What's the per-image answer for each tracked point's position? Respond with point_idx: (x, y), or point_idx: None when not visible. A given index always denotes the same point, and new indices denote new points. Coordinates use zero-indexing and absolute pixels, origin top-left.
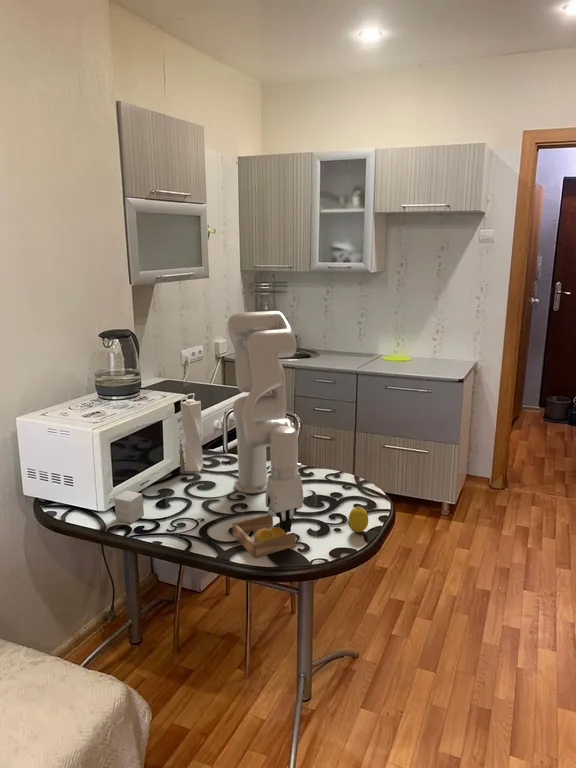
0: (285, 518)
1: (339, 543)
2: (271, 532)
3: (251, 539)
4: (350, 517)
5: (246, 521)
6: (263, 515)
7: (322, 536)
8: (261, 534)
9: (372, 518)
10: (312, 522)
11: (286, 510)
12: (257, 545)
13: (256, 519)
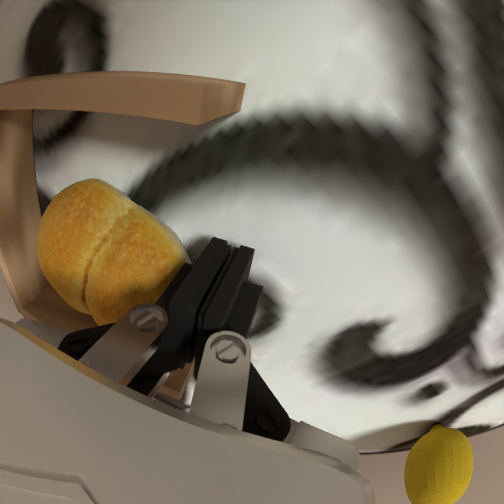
0: (165, 373)
1: (338, 426)
2: (88, 305)
3: (10, 280)
4: (416, 482)
5: (8, 108)
6: (112, 90)
7: (347, 386)
8: (46, 276)
9: None
10: (455, 293)
11: (201, 386)
12: (28, 318)
13: (58, 107)
